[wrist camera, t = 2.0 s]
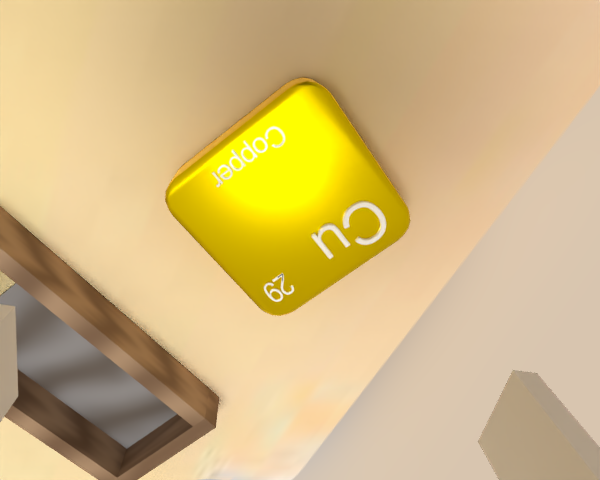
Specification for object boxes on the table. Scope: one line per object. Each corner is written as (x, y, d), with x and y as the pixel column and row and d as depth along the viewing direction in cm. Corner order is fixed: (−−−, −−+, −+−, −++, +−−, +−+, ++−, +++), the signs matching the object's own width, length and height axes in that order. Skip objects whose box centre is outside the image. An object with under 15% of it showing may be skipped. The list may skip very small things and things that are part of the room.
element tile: (307, 65, 35) (314, 68, 30) (405, 208, 40) (423, 228, 36) (163, 180, 37) (150, 197, 33) (273, 300, 43) (274, 329, 38)
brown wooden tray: (-107, 290, 39) (-145, 315, 35) (-7, 200, 36) (-37, 217, 33) (128, 459, 49) (117, 492, 45) (219, 397, 46) (215, 427, 43)
